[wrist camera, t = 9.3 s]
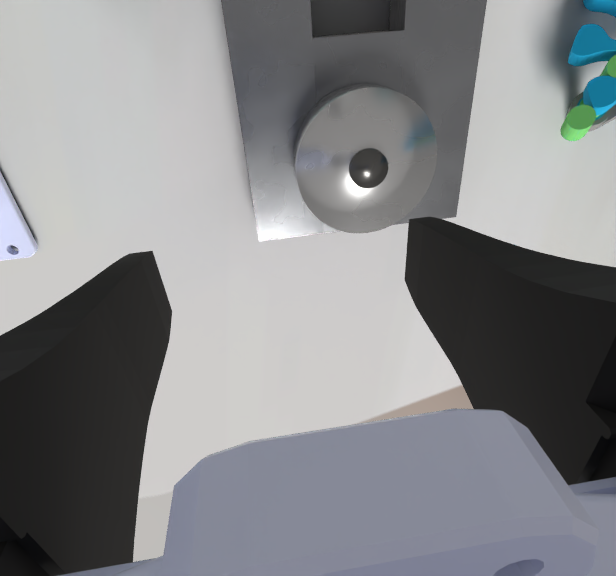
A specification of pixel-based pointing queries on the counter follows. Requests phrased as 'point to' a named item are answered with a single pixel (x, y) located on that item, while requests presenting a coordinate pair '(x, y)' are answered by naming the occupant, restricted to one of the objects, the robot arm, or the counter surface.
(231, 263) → the counter surface
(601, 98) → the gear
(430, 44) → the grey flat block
